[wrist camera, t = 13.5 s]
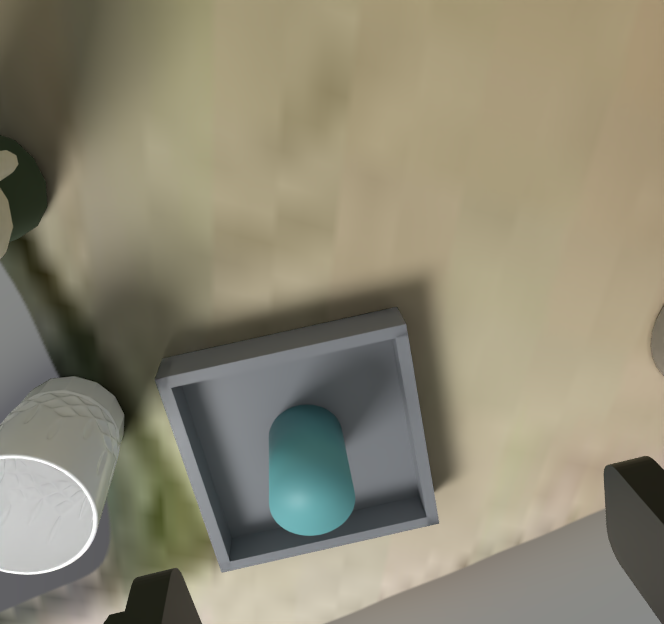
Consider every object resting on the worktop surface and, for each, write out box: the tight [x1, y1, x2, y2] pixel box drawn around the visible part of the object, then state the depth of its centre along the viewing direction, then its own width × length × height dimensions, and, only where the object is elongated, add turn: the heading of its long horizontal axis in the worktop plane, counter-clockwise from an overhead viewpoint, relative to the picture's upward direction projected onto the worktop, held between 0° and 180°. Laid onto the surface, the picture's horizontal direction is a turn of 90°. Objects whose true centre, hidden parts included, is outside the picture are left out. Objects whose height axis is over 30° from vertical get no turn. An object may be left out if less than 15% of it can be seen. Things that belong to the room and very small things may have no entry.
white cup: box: [0, 376, 124, 574], centre depth 38 cm, size 8×8×10 cm
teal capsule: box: [269, 404, 355, 536], centre depth 41 cm, size 5×5×7 cm
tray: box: [155, 307, 439, 572], centre depth 43 cm, size 16×16×3 cm
